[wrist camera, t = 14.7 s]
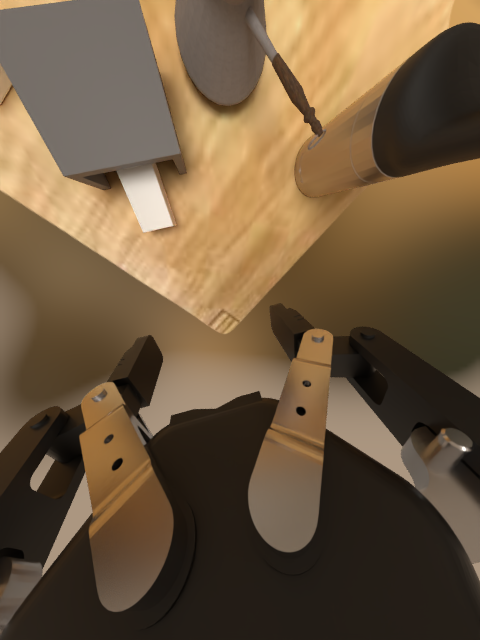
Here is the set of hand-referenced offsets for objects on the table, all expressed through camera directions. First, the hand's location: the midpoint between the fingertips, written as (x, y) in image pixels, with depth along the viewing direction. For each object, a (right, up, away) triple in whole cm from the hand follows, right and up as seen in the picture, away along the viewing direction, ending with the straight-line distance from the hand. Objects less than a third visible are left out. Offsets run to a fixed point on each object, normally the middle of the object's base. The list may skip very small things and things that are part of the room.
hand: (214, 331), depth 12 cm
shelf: (-15, +29, +14) cm, 36 cm away
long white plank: (-14, +25, +17) cm, 33 cm away
